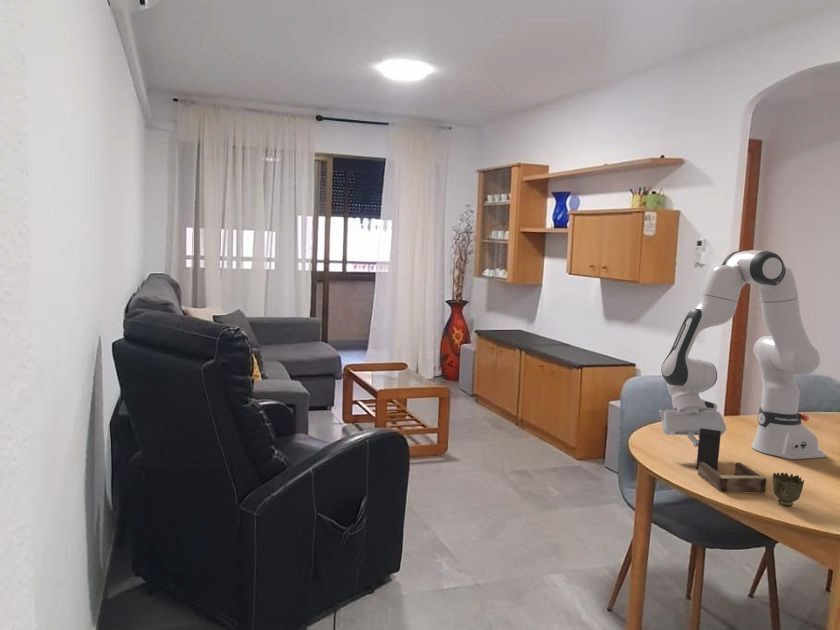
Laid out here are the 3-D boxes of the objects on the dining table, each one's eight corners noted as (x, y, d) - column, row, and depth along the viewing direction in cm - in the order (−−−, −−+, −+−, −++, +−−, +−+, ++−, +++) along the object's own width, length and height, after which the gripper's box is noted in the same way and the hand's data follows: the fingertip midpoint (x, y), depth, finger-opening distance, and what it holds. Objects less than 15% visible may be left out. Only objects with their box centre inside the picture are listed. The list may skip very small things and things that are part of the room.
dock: (739, 475, 201) (740, 461, 200) (765, 492, 187) (766, 477, 187) (697, 474, 200) (699, 460, 199) (721, 492, 186) (722, 477, 186)
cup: (805, 512, 175) (808, 483, 174) (775, 509, 176) (778, 480, 175) (795, 501, 182) (798, 473, 181) (766, 498, 183) (769, 470, 182)
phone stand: (717, 473, 202) (720, 435, 200) (695, 469, 204) (699, 432, 203) (717, 464, 210) (721, 427, 208) (697, 460, 212) (700, 424, 211)
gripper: (661, 402, 217) (672, 441, 209) (721, 404, 219) (734, 442, 210) (654, 412, 222) (664, 449, 214) (713, 413, 224) (725, 450, 215)
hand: (699, 446), depth 212 cm, fingers closed
